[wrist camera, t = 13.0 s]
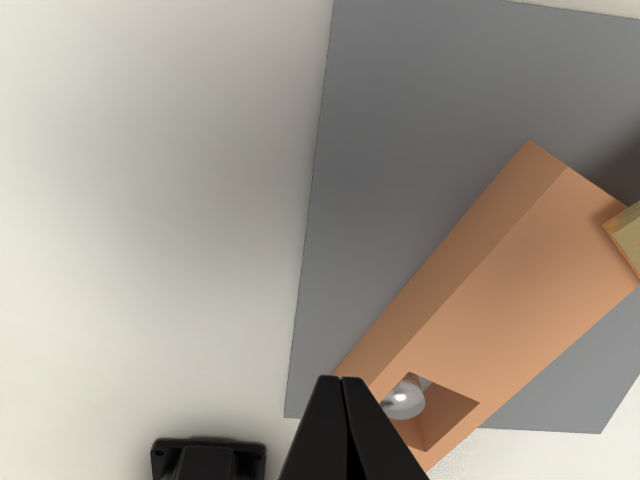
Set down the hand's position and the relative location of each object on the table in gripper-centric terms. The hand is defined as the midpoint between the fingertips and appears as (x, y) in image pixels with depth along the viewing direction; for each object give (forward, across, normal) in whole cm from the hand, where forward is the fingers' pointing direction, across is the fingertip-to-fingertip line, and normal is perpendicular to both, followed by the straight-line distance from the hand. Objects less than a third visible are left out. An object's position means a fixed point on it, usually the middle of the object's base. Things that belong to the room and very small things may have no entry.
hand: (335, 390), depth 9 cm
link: (+10, -7, +6) cm, 14 cm away
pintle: (+10, -5, +9) cm, 15 cm away
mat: (+11, -9, +4) cm, 15 cm away
